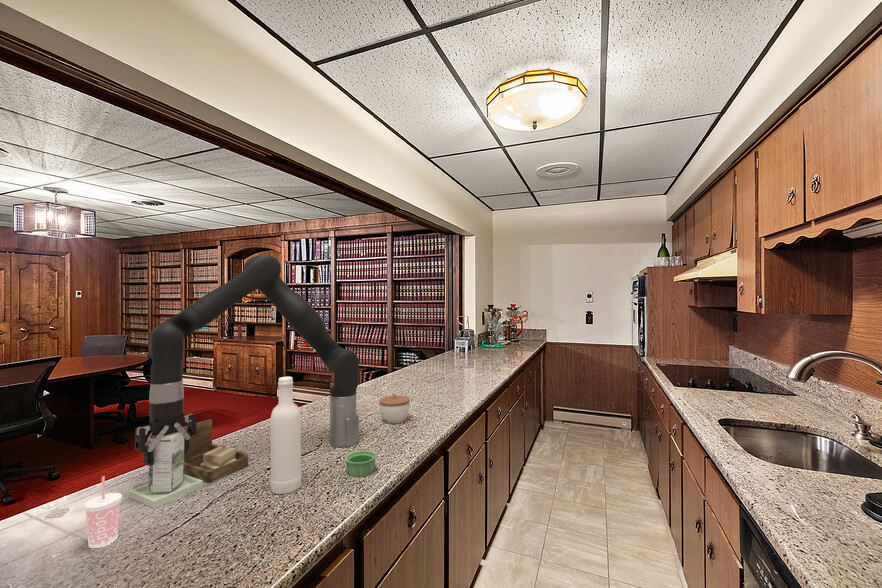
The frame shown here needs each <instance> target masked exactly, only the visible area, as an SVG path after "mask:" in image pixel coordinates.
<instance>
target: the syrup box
mask: <svg viewBox="0 0 882 588" xmlns="http://www.w3.org/2000/svg"><path fill="white" fill-rule="evenodd" d="M183 436H184V435H182V433H180V432H176V433H172V434H168V435H165V436H163V437H162V438H161V440H160V441H159V443H157V444H156V446H155V447H154V449H153V450H152V451H154V465H152V466H148V467H149V468H148V470H149V471H148V483H149V492H168V491H172V490H174V489H175V488H176V487H177V486H178V485H180V484H181V483H182V482H183V481H184V437H183ZM152 438H153V439H154V438H156V436H154V437H152ZM150 444H151V441H150Z"/></svg>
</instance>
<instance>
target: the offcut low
mask: <svg viewBox="0 0 882 588" xmlns="http://www.w3.org/2000/svg"><path fill="white" fill-rule="evenodd" d="M235 460H237V459H233V460H232V461H235ZM232 461H230V462H232ZM230 462H228V463H230ZM228 463H226V464H228ZM224 465H225V464H224ZM222 466H223V465H222ZM200 467H201V468H204V469H207V470H213V469H215V468H218V467H219V466H210V465H203V463H202V464H200Z"/></svg>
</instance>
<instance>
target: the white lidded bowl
mask: <svg viewBox="0 0 882 588" xmlns="http://www.w3.org/2000/svg"><path fill="white" fill-rule="evenodd" d="M378 403H379V412H380V416H381V417H382V419H383V420H384V421H385V422H386V424H391V423H396V424H400V422H401V423H403V422H404V420H405V419H406V417H407V416H408V414H409V409H410V398H409V396H405V395H398V394H397V395H396V394H392V395H388V396H384V397H381V398H379V402H378Z"/></svg>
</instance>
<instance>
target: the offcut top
mask: <svg viewBox="0 0 882 588" xmlns="http://www.w3.org/2000/svg"><path fill="white" fill-rule="evenodd" d="M235 458H236V448H234V447H226V446H225V447H218V448H216V449H214V450H212V451H210V452H208V453H206V454H203V465H210V466H219V467H220V466H222V465H224V464H226V463H228V462H230V461H232V460H233V459H235Z"/></svg>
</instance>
